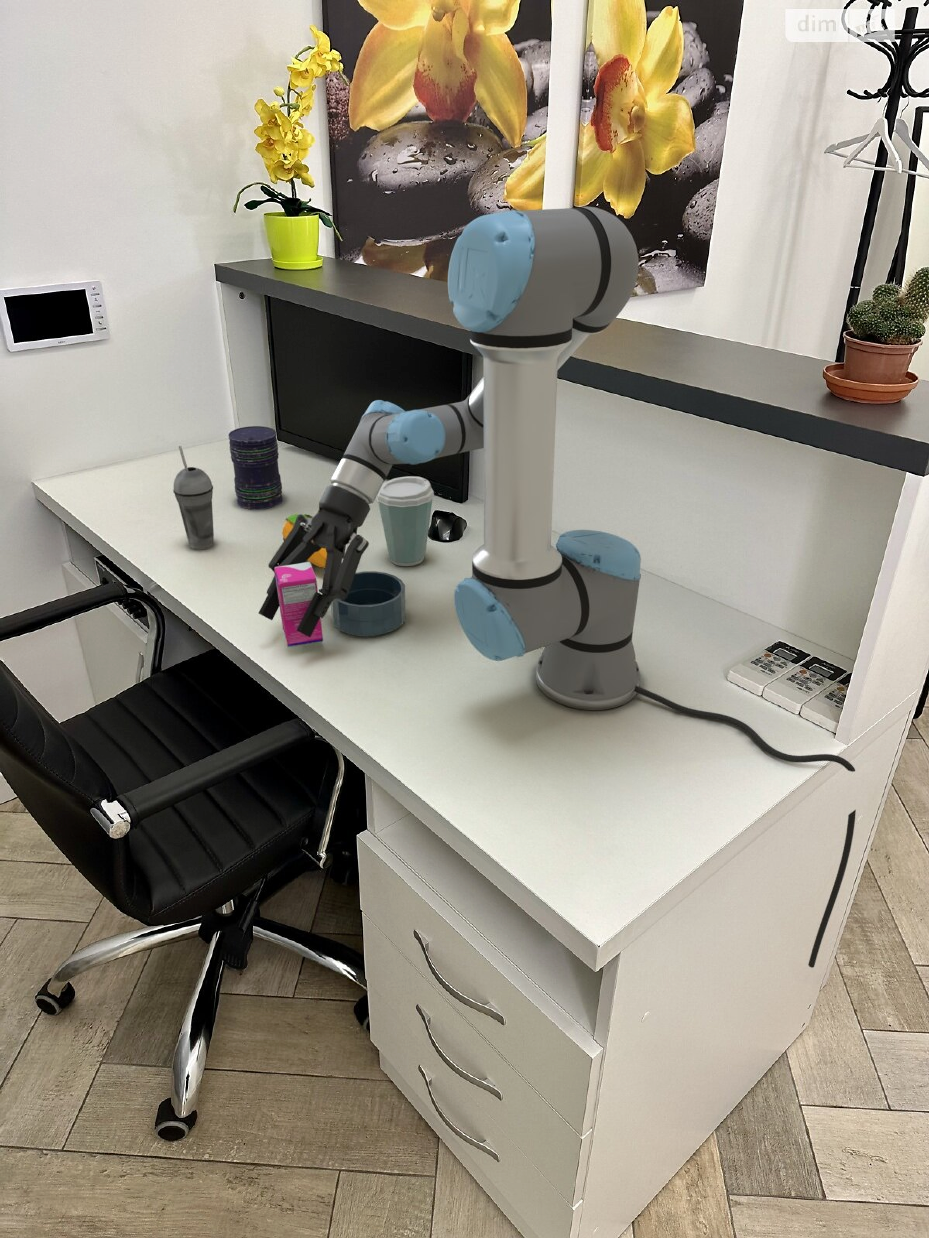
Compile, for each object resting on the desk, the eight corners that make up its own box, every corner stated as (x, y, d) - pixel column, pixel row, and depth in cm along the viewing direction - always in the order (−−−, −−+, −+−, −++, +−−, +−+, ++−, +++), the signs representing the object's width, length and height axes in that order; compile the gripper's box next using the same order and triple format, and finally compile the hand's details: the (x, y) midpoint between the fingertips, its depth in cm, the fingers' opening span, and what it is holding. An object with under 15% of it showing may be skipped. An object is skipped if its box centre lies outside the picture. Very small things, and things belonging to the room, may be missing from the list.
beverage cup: (223, 549, 171) (209, 449, 161) (184, 555, 168) (167, 454, 158) (218, 534, 177) (204, 437, 166) (180, 540, 174) (163, 441, 164)
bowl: (420, 623, 147) (419, 591, 144) (357, 647, 141) (355, 614, 138) (379, 595, 155) (378, 564, 152) (318, 616, 149) (315, 584, 146)
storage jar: (239, 492, 195) (231, 426, 188) (284, 491, 196) (278, 425, 189) (233, 510, 187) (224, 442, 179) (281, 509, 188) (274, 441, 180)
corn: (306, 500, 172) (351, 537, 157) (312, 535, 176) (356, 575, 161) (270, 510, 169) (313, 549, 154) (277, 546, 173) (319, 587, 158)
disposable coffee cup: (392, 576, 162) (389, 499, 154) (369, 553, 170) (365, 479, 162) (444, 564, 166) (444, 489, 158) (419, 542, 174) (417, 469, 167)
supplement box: (281, 629, 142) (273, 565, 136) (318, 624, 144) (312, 560, 138) (286, 648, 137) (278, 582, 132) (324, 642, 139) (318, 577, 133)
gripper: (412, 521, 137) (346, 654, 134) (316, 490, 148) (253, 613, 145) (388, 500, 131) (318, 639, 128) (290, 469, 141) (223, 597, 138)
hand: (284, 625), depth 136 cm, fingers closed on supplement box, 8 cm apart
